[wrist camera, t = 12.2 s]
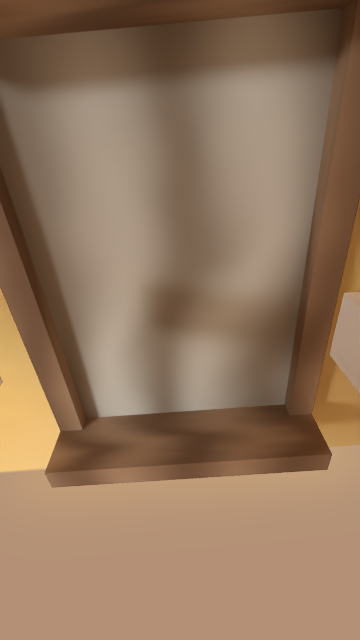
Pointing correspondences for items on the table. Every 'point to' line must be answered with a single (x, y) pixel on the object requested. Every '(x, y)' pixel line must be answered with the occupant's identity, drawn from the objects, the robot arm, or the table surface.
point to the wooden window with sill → (178, 225)
